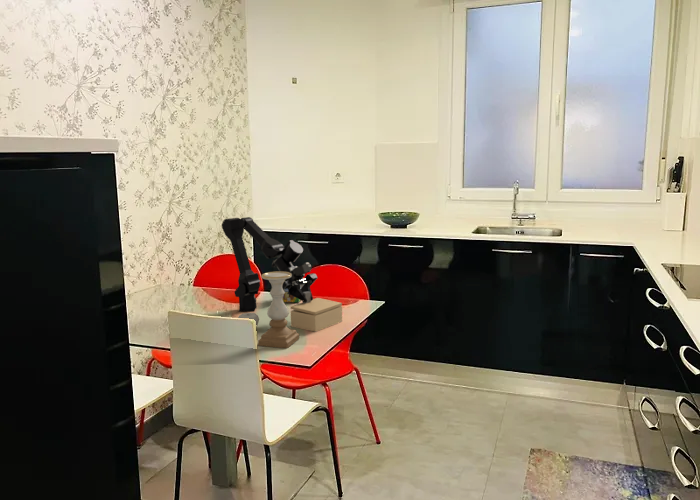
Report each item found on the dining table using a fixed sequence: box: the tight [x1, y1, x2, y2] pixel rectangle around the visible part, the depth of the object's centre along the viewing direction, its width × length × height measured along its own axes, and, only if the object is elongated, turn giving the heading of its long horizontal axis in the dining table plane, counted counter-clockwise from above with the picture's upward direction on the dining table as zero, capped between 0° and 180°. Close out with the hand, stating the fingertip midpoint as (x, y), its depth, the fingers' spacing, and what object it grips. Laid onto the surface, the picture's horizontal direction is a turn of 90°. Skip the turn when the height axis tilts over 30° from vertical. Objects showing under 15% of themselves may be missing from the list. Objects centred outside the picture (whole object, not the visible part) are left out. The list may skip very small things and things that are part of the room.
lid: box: [290, 291, 343, 315], centre depth 216 cm, size 12×16×5 cm
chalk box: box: [282, 277, 304, 304], centre depth 253 cm, size 9×9×15 cm
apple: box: [237, 312, 260, 326], centre depth 210 cm, size 8×8×7 cm
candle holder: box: [257, 270, 300, 349], centre depth 194 cm, size 11×11×24 cm
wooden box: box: [290, 305, 343, 333], centre depth 217 cm, size 12×16×6 cm
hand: (309, 301), depth 218 cm, fingers closed on lid, 3 cm apart
